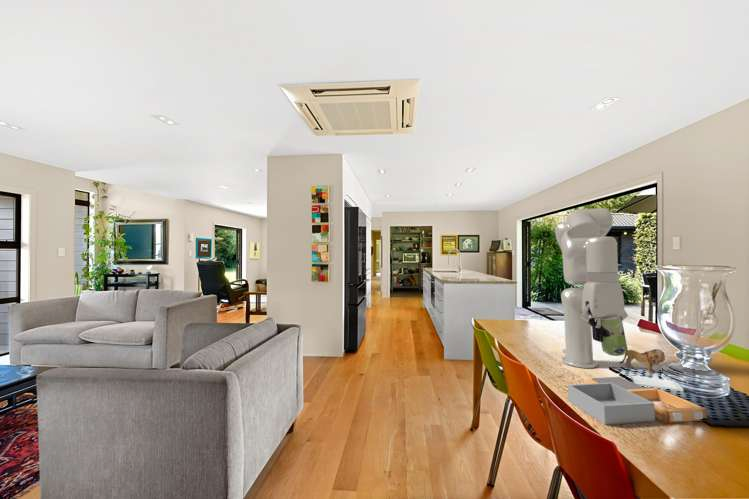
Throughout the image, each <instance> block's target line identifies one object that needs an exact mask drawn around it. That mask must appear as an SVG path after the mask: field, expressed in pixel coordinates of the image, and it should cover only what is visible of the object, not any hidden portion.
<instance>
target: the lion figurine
mask: <svg viewBox="0 0 749 499" xmlns="http://www.w3.org/2000/svg"><path fill="white" fill-rule="evenodd" d="M623 356H624V357H623V359H622V361H619V362H618V363H619V364H622V363H624V362H625V364H626V365H628V366H629V369H634V366H633V365H632V361H633V360H636V361H638V362H639V363H641V364H645V365H646V368H647V372H648V373H650V374H653V372H655V370H654V369H653V366H658V365H659V364H662V363H664V361H665V360H666V357H665V351H663V350H662V349H660V348H655V349H654V348H653V349H651V350H648V351H644V352H639V351H636V350H633V349H628V352H627V353H626V354H624V355H623Z"/></svg>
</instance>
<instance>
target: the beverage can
mask: <svg viewBox="0 0 749 499" xmlns="http://www.w3.org/2000/svg"><path fill="white" fill-rule="evenodd" d="M600 328H602V329H603V342H600V343H601V349H602V352H603V353H605V354H607V355H609V356H611V357H612V356H613V357H621V356H625V354H626V353H627V352H628V350H629V348H628V344H627V340H626V334H625V328H624V323H623V321H622V319H621V318H620V317H619V315H617V316H613V317H604V318H602V319H601V327H600Z"/></svg>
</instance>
